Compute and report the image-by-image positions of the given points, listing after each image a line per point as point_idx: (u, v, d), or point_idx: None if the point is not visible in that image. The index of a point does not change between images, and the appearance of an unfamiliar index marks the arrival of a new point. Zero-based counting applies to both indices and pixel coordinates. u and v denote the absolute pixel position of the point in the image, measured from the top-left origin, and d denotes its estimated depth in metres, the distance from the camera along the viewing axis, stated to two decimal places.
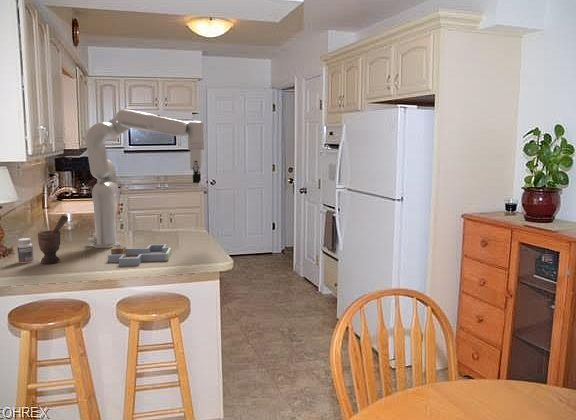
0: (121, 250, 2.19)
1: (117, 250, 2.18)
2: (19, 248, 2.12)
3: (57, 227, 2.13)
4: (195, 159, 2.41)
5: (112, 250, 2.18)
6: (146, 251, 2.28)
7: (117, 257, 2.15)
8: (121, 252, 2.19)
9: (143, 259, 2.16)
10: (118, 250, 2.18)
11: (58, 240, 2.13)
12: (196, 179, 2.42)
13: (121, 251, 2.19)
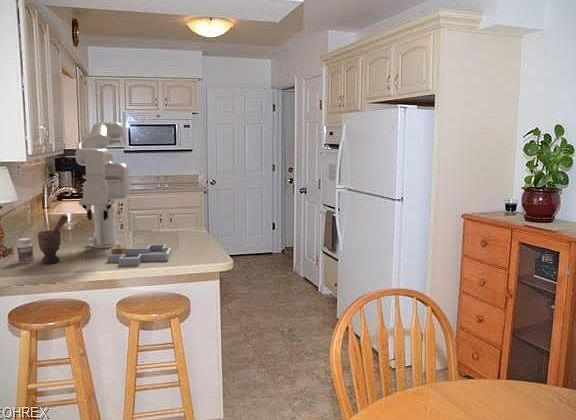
0: (121, 250, 2.19)
1: (117, 250, 2.18)
2: (19, 248, 2.12)
3: (57, 227, 2.13)
4: (108, 193, 2.17)
5: (112, 250, 2.18)
6: (146, 251, 2.28)
7: (117, 257, 2.15)
8: (121, 252, 2.19)
9: (143, 259, 2.16)
10: (118, 250, 2.18)
11: (58, 240, 2.13)
12: (107, 215, 2.18)
13: (121, 251, 2.19)
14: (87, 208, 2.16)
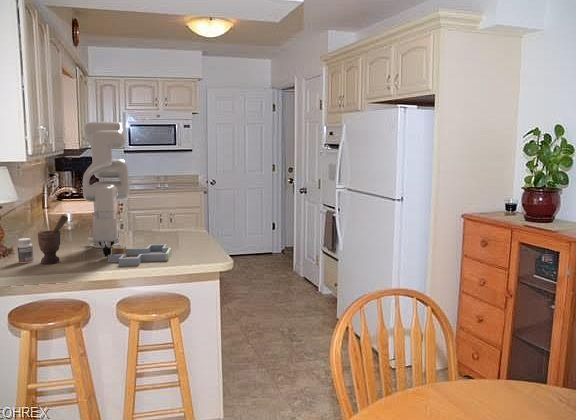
0: (121, 250, 2.19)
1: (117, 250, 2.18)
2: (19, 248, 2.12)
3: (57, 227, 2.13)
4: (118, 231, 2.19)
5: (112, 250, 2.18)
6: (146, 251, 2.28)
7: (117, 257, 2.15)
8: (121, 252, 2.19)
9: (143, 259, 2.16)
10: (118, 250, 2.18)
11: (58, 240, 2.13)
12: (110, 252, 2.21)
13: (121, 251, 2.19)
14: (103, 245, 2.19)
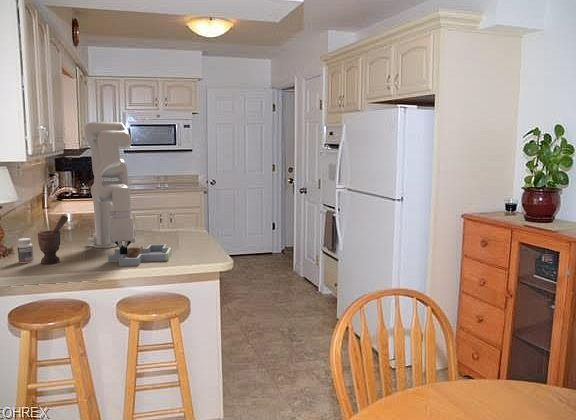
0: (138, 249, 2.19)
1: (134, 249, 2.19)
2: (19, 248, 2.12)
3: (57, 227, 2.13)
4: (134, 231, 2.20)
5: (129, 249, 2.19)
6: (146, 251, 2.28)
7: (117, 257, 2.15)
8: (138, 251, 2.19)
9: (143, 259, 2.16)
10: (135, 249, 2.19)
11: (58, 240, 2.13)
12: (127, 252, 2.21)
13: (138, 250, 2.19)
14: (120, 245, 2.19)
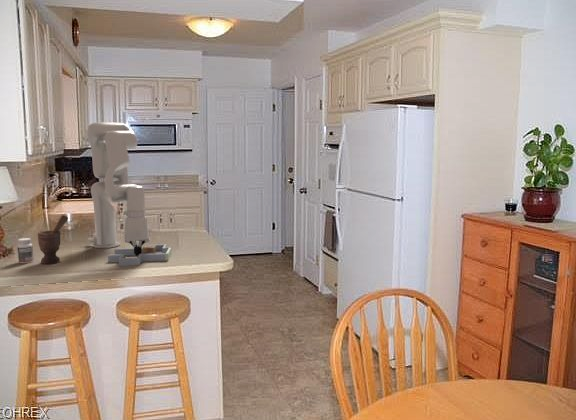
0: (152, 249, 2.20)
1: (148, 249, 2.19)
2: (19, 248, 2.12)
3: (57, 227, 2.13)
4: None
5: (143, 249, 2.19)
6: None
7: (117, 257, 2.15)
8: (152, 251, 2.20)
9: (143, 259, 2.16)
10: (149, 249, 2.20)
11: (58, 240, 2.13)
12: (141, 251, 2.22)
13: (152, 250, 2.20)
14: (134, 244, 2.20)
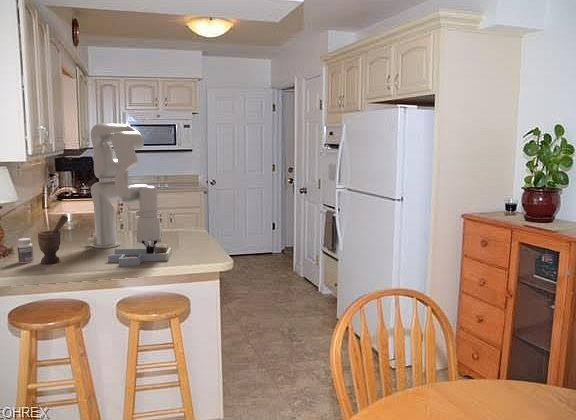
0: (164, 249, 2.20)
1: (160, 249, 2.20)
2: (19, 248, 2.12)
3: (57, 227, 2.13)
4: None
5: (156, 249, 2.20)
6: None
7: (117, 257, 2.15)
8: (164, 251, 2.20)
9: (143, 259, 2.16)
10: (161, 249, 2.20)
11: (58, 240, 2.13)
12: (153, 251, 2.23)
13: (164, 250, 2.20)
14: (146, 244, 2.20)
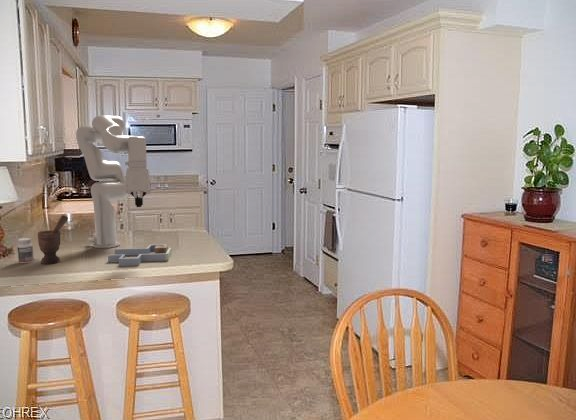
0: (164, 249, 2.20)
1: (160, 249, 2.20)
2: (19, 248, 2.12)
3: (57, 227, 2.13)
4: None
5: (156, 249, 2.20)
6: (146, 251, 2.28)
7: (117, 257, 2.15)
8: (164, 251, 2.20)
9: (143, 259, 2.16)
10: (161, 249, 2.20)
11: (58, 240, 2.13)
12: (142, 203, 2.22)
13: (164, 250, 2.20)
14: (135, 195, 2.19)
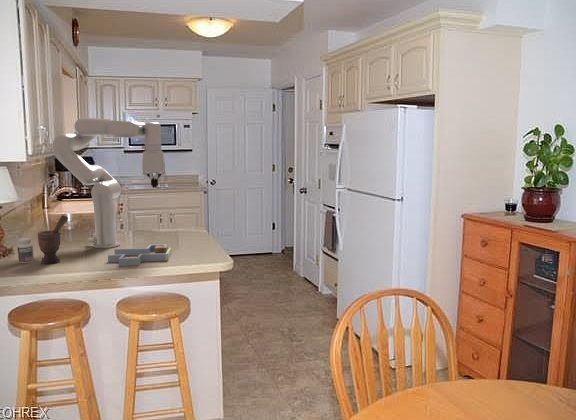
0: (164, 249, 2.20)
1: (160, 249, 2.20)
2: (19, 248, 2.12)
3: (57, 227, 2.13)
4: (164, 164, 2.40)
5: (156, 249, 2.20)
6: (146, 251, 2.28)
7: (117, 257, 2.15)
8: (164, 251, 2.20)
9: (143, 259, 2.16)
10: (161, 249, 2.20)
11: (58, 240, 2.13)
12: (157, 183, 2.41)
13: (164, 250, 2.20)
14: (151, 176, 2.39)
